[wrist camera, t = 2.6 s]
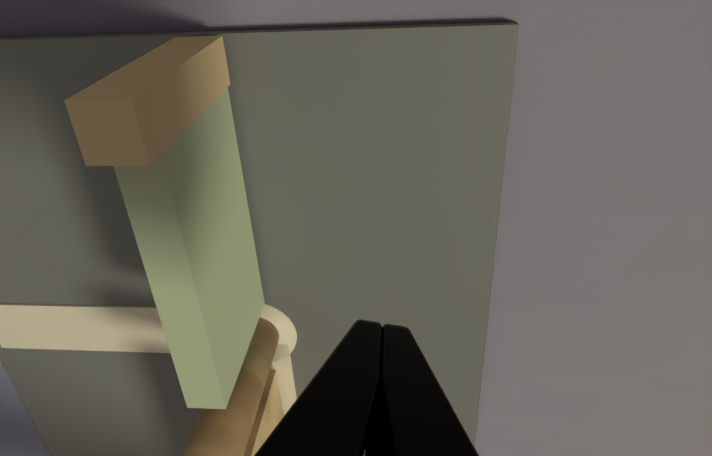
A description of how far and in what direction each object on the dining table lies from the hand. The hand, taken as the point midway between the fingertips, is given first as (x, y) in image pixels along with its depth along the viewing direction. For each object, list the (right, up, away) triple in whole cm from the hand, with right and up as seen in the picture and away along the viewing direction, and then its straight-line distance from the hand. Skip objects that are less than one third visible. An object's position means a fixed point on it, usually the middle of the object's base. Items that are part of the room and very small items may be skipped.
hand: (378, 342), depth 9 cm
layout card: (-6, -2, +13) cm, 15 cm away
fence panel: (-5, +3, +9) cm, 11 cm away
